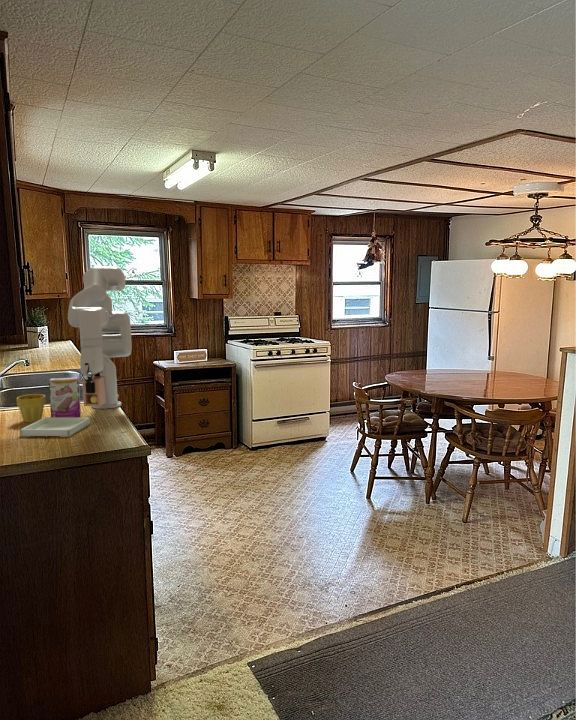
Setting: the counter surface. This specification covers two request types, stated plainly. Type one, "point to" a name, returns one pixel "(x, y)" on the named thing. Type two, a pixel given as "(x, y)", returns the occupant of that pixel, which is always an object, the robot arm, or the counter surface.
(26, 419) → the plant pot
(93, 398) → the ball
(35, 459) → the counter surface
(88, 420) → the tray
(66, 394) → the candy bar box
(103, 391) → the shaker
